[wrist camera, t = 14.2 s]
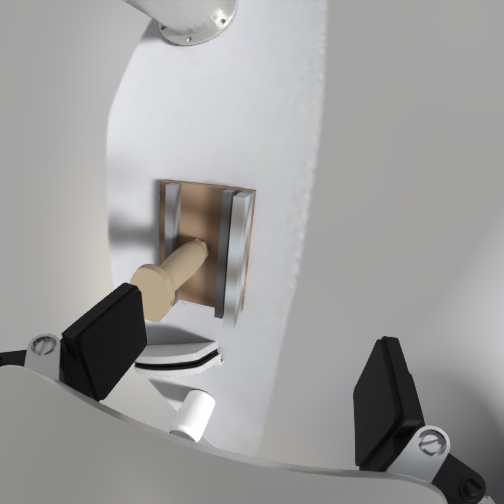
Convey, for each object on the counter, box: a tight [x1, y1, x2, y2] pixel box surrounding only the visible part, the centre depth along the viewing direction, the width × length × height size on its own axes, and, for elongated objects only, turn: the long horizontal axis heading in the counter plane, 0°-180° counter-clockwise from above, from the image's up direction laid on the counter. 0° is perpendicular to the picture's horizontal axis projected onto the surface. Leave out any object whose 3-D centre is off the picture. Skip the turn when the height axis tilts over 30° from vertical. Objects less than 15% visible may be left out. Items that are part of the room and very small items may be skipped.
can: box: [169, 390, 215, 442], centre depth 51 cm, size 6×6×12 cm
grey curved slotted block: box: [134, 342, 224, 377], centre depth 49 cm, size 17×5×10 cm, turn 107°
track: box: [160, 180, 256, 331], centre depth 40 cm, size 19×14×6 cm
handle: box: [130, 239, 209, 322], centre depth 35 cm, size 5×6×15 cm
